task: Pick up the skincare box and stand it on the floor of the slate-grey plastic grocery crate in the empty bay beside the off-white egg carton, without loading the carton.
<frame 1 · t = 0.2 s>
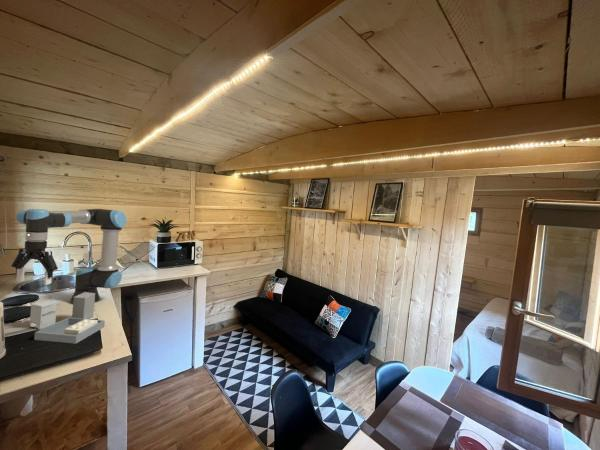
hand: (33, 282, 123), 28 cm above the counter, fingers open, 13 cm apart
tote: (71, 334, 130), on the counter
supplement box: (42, 326, 136), on the counter
skincare box: (82, 321, 145), on the counter
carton: (81, 333, 130), point 1 cm above the counter, touching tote
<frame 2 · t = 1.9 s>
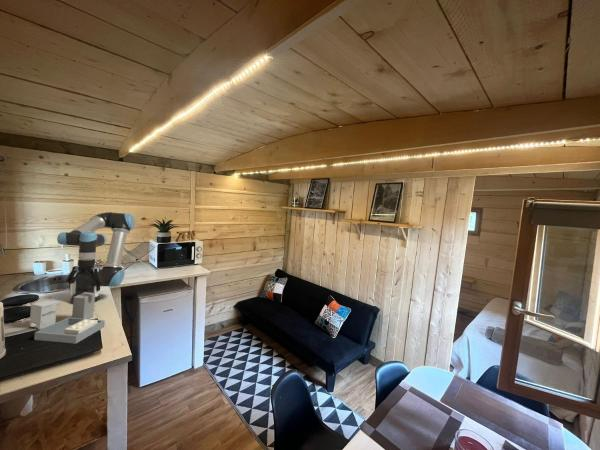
hand: (84, 295, 144), 15 cm above the counter, fingers open, 13 cm apart
nothing on the counter moved.
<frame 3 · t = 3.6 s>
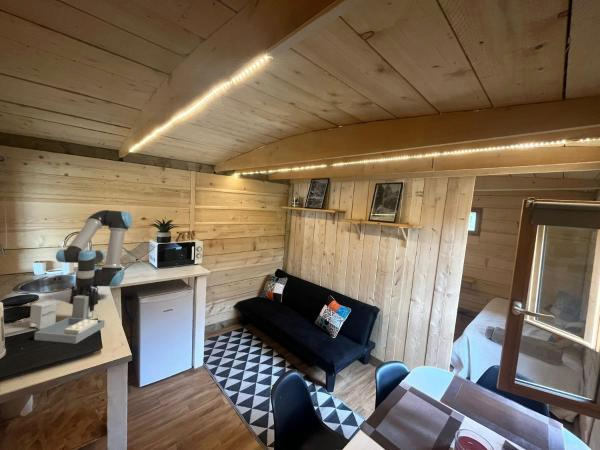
hand: (83, 315, 145), 3 cm above the counter, fingers closed on skincare box, 7 cm apart
skincare box: (82, 321, 145), on the counter, touching gripper
everything else where it was.
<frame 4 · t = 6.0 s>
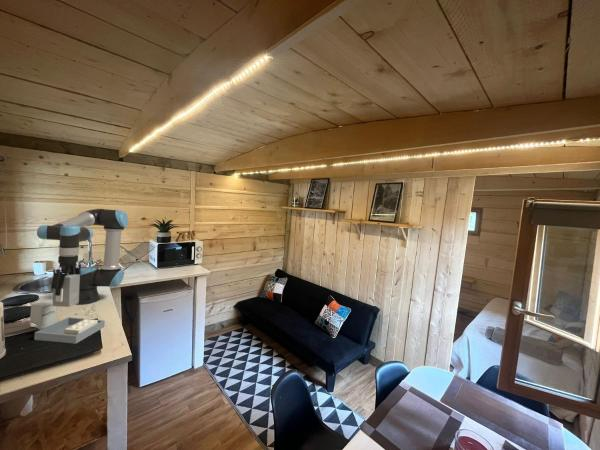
hand: (65, 298, 129), 19 cm above the counter, fingers closed on skincare box, 7 cm apart
skincare box: (64, 305, 129), point 15 cm above the counter, touching gripper
everything else where it was.
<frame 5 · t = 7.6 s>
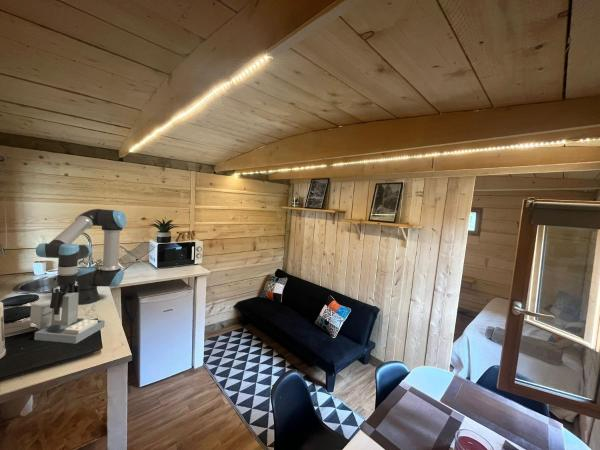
hand: (64, 317, 130), 9 cm above the counter, fingers closed on skincare box, 7 cm apart
skincare box: (63, 324, 130), point 5 cm above the counter, touching gripper
everything else where it was.
when the fingers open (5 cm above the counter, at t = 8.7 s): skincare box drops 1 cm, resting on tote.
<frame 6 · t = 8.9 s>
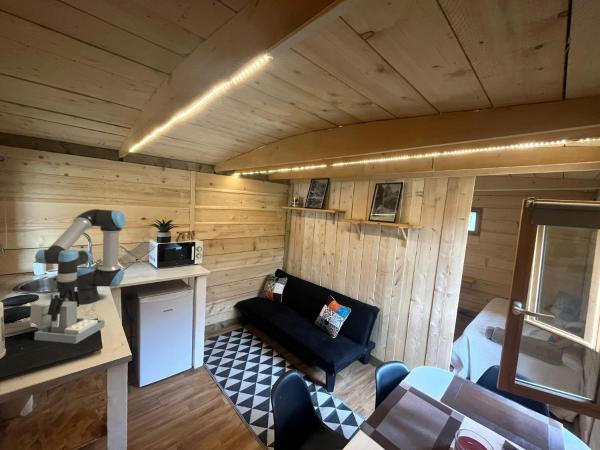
hand: (64, 322, 130), 6 cm above the counter, fingers open, 9 cm apart
skincare box: (62, 332, 130), point 1 cm above the counter, touching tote
everything else where it was.
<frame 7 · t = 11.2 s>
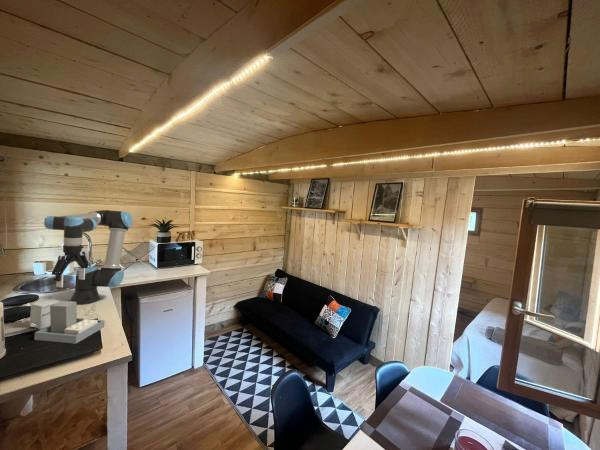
hand: (71, 282, 136), 25 cm above the counter, fingers open, 13 cm apart
nothing on the counter moved.
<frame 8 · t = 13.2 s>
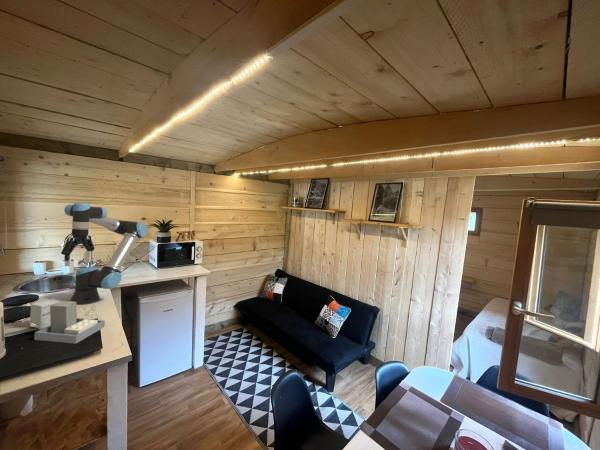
hand: (78, 263, 150), 32 cm above the counter, fingers open, 13 cm apart
nothing on the counter moved.
at the end: skincare box inside the target area on the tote (0.4 cm from its centre), point 0.6 cm above the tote's base; skincare box tilted 0°; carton moved 0.1 cm from its start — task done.
